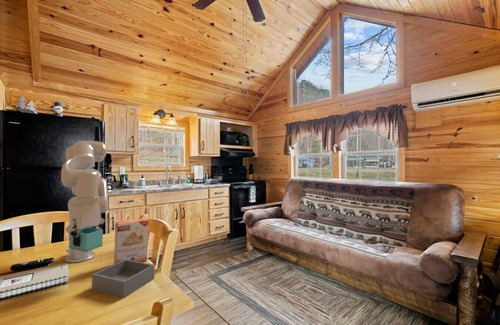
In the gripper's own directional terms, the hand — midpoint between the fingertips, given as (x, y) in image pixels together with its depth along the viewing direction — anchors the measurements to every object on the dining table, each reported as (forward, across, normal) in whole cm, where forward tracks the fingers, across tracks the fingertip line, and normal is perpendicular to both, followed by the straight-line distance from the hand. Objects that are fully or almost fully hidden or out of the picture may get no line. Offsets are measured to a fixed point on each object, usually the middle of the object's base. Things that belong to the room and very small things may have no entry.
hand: (86, 242), depth 101 cm
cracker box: (+16, -21, +4) cm, 26 cm away
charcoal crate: (+16, -4, +18) cm, 24 cm away
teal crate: (+2, 0, 0) cm, 2 cm away
